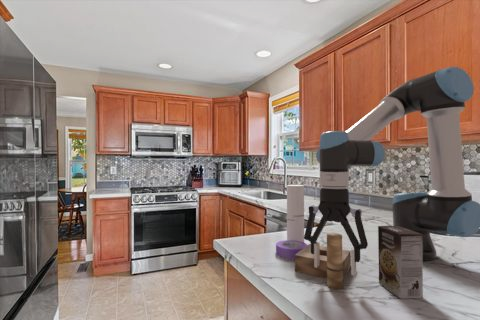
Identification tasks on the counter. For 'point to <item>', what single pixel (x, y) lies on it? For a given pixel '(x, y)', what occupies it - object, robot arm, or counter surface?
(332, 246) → the peg
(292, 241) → the masking tape
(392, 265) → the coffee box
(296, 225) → the cylindrical container
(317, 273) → the seat block
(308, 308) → the counter surface
